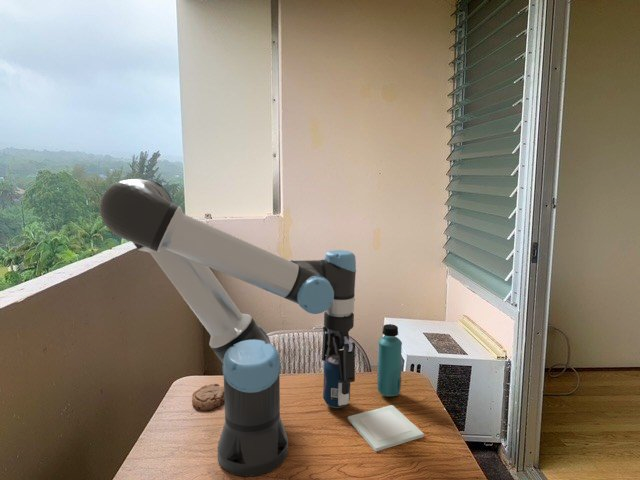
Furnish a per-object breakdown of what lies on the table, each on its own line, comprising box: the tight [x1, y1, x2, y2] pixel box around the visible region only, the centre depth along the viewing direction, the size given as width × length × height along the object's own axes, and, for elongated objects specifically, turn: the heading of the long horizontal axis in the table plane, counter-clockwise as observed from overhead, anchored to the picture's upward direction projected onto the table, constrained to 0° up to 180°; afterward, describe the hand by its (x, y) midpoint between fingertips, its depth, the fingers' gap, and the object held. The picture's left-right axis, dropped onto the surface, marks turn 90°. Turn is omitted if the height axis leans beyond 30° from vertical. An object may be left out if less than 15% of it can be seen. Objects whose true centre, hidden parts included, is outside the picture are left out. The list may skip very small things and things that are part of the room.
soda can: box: [322, 354, 351, 409], centre depth 107 cm, size 7×7×12 cm
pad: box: [347, 404, 425, 453], centre depth 99 cm, size 13×13×1 cm
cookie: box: [191, 383, 224, 412], centre depth 110 cm, size 10×11×3 cm
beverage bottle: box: [376, 323, 403, 397], centre depth 112 cm, size 6×7×20 cm
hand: (336, 396), depth 108 cm, fingers closed on soda can, 7 cm apart
